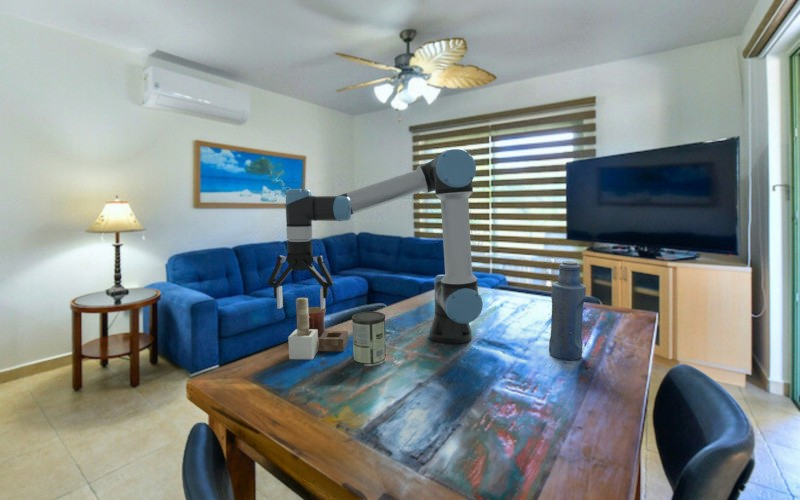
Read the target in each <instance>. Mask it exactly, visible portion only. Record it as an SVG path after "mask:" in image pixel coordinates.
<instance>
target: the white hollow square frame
mask: <svg viewBox="0 0 800 500" xmlns="http://www.w3.org/2000/svg"><path fill="white" fill-rule="evenodd" d="M287 338H288V339H287V340H288V358H289V360H314V357H315V356H316V355H317V353H318V352H319V337H318V330H316V329H309V336H298V333H297V328H296V329H295V330H293V332H291V333H290V335H289V336H287Z"/></svg>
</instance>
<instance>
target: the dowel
mask: <svg viewBox="0 0 800 500" xmlns="http://www.w3.org/2000/svg"><path fill="white" fill-rule="evenodd" d="M295 305H296V308H295V309H296V310H295V311H296V327H297V328H296V329H297V333H298V336H309V313H308V308H309V298H308V297H298V298H296V299H295Z"/></svg>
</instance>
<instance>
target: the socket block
mask: <svg viewBox="0 0 800 500" xmlns="http://www.w3.org/2000/svg"><path fill="white" fill-rule="evenodd" d="M348 343H349V331H347V330H342V331H341V330H325V331H324V333H323V334H322V335H321V337H318V352H345V349H346V347H347V345H348Z"/></svg>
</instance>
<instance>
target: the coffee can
mask: <svg viewBox="0 0 800 500" xmlns="http://www.w3.org/2000/svg"><path fill="white" fill-rule="evenodd" d="M351 321H352V322H351V323H352V325H351V326H352V347H353V348H352V350H353V352H352V354H353V360H354V361H356V362H358V363H362V364H363V367H375V366H376V367H377V366H380V365H382V364H383V363H385V362H386V360H387V357H386V355H387V354H386V352H387V351H386V350H387V348H386V314H384V313H383V312H380V311H362V312H357V313H354V314H353V315H352V316H351Z"/></svg>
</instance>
